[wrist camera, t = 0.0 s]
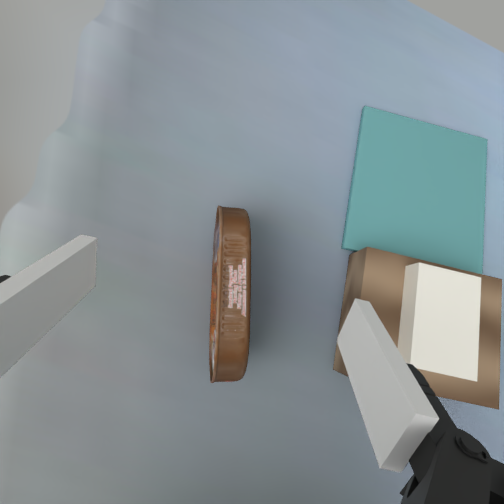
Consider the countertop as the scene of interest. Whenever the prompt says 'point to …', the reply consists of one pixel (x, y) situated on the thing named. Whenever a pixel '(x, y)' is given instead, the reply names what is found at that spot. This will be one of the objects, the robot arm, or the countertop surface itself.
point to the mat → (417, 191)
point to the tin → (230, 295)
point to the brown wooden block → (389, 311)
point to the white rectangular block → (440, 320)
